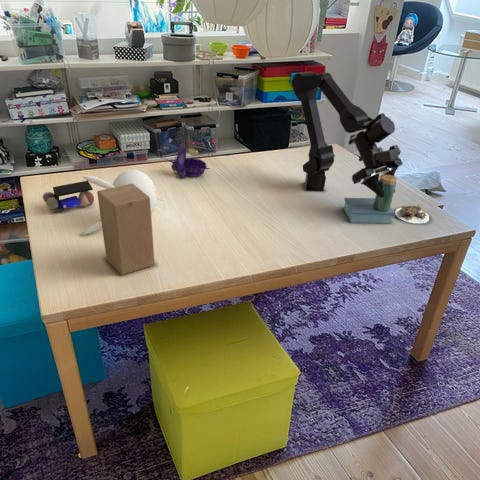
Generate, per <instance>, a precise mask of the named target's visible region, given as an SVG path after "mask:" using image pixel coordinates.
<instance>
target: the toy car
mask: <svg viewBox="0 0 480 480" xmlns="http://www.w3.org/2000/svg"><path fill="white" fill-rule="evenodd" d="M52 191H53V192H51V191H46V192H44V193H43V195H42V199H43V202H45V205H46V207H47V208H48V209H50V210H55V211H54V213H61V212H63V211H64V210H66V209H70V208H75V207H77V206H84V207H90V206H92V205H93V204H94V202H95V196H94V194H93V193H92V192H91V191H93V187H92V184H91V182H89V181H87V180H84V181H79V182H73V183H72V182H71V183H67V184H63V185H56V186H53V187H52ZM74 194H78V196H77V195H74ZM69 195H71V196H69ZM64 196H68V197H65V198H60V197H64ZM57 209H58V210H57Z"/></svg>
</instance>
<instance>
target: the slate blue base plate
mask: <svg viewBox="0 0 480 480" xmlns="http://www.w3.org/2000/svg"><path fill="white" fill-rule="evenodd" d="M343 200H344V205H343V210H344V212H345V214H346V216H347V218H348V220H349V222H350V223H351V224H391V223H392V219H393V215H395V211H394V210H393V209H392V208H391V206H390V210H389V211H387V212H380V211H377V210H375V209H374V208H373V204H374V200H375V197H344V199H343Z"/></svg>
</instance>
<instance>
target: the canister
mask: <svg viewBox="0 0 480 480" xmlns="http://www.w3.org/2000/svg"><path fill="white" fill-rule="evenodd" d="M380 176H381V177H380ZM380 176H379V183H380V185H381V188H382V191H383V194H384V197H382V198H381V197H379V196H378V195H377V194H376V193H375V196H374V198H375V200H374V204H373V208H374V209H375V210H377V211H380V212H387V211H389V210H390V207H391V206H392V202H393V198H394V194H395V193H394V190H395V191H396V187H397V177H396V176H395V175H394V176H392V175H382V174H381V175H380Z"/></svg>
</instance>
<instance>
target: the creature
mask: <svg viewBox="0 0 480 480" xmlns="http://www.w3.org/2000/svg"><path fill="white" fill-rule="evenodd" d="M173 155H174V154H173ZM174 158H175V159H174V160H170V159H167V158H165V157H163V159H164V160H166V161H167V162H170V163H172V164H171V166H170V167H171V170H172V171H173V172H174V173H175V172H176V173H180V174H178V178H181V179H184V178H186V175H187V176H188V177H192V178H193V177H200V176H202V175H204V174H205V171H206V170H210V169H211V168H209V167H208V165H207V164H208V163H206V162H205V160H202V159H201V158H196V157H192V156H191V157H187V147H186V146H185V139H183V140H182V141H181V144H180V146H179V149H178V151H177V154H175V155H174Z"/></svg>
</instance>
